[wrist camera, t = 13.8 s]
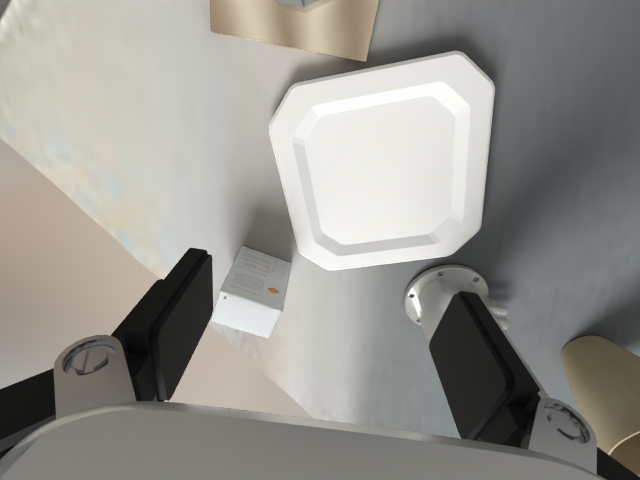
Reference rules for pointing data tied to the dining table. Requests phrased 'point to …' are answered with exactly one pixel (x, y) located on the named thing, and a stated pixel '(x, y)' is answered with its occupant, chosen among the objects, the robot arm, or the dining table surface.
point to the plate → (385, 160)
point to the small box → (253, 293)
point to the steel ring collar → (300, 4)
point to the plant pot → (607, 394)
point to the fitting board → (300, 25)
